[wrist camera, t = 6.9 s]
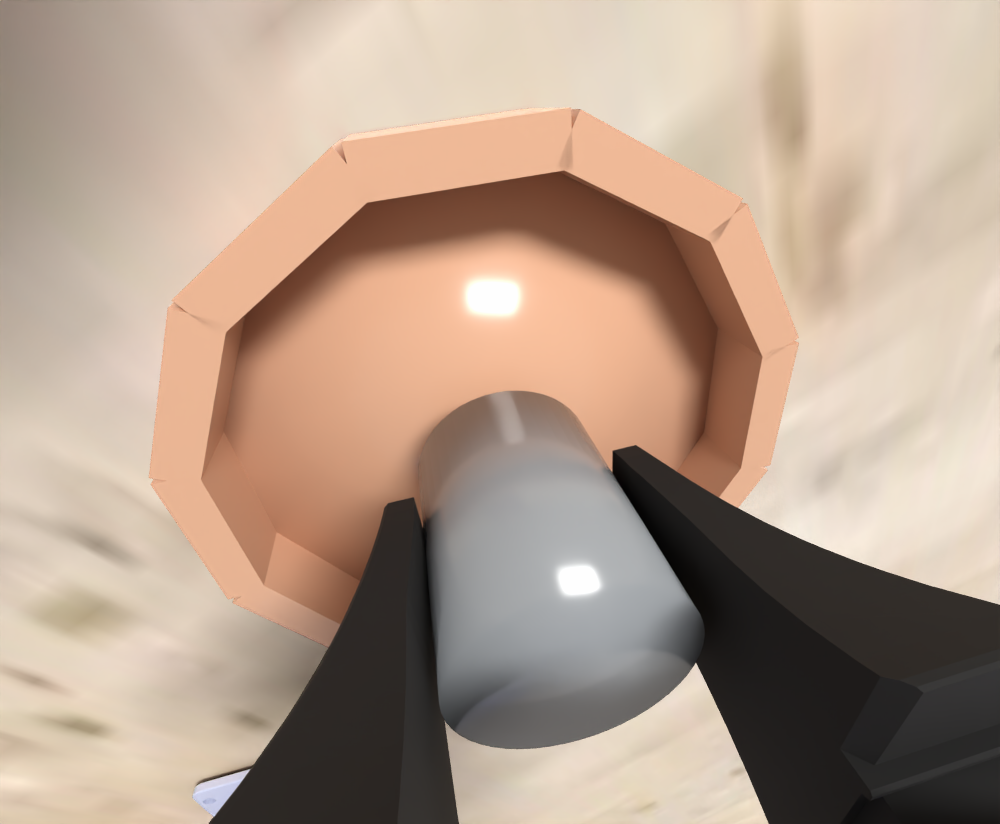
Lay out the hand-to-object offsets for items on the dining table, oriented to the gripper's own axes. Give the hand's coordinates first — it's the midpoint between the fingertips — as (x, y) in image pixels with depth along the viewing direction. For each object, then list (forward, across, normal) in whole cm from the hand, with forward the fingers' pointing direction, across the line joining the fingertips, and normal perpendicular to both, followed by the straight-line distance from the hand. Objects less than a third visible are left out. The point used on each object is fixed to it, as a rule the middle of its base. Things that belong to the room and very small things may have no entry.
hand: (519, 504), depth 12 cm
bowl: (+4, 0, 0) cm, 4 cm away
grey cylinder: (+2, 0, 0) cm, 2 cm away
